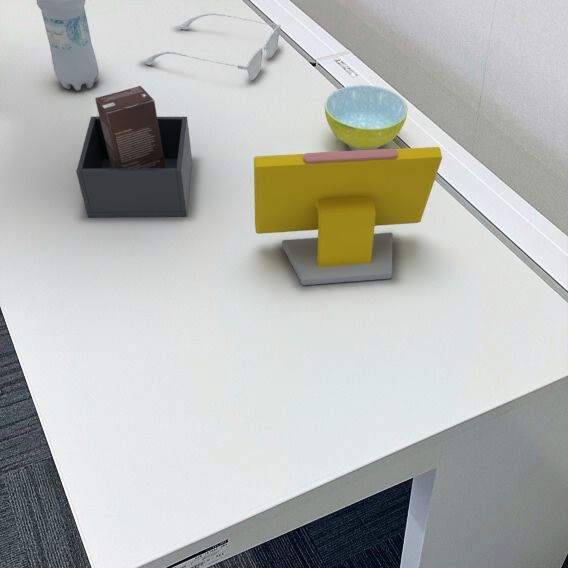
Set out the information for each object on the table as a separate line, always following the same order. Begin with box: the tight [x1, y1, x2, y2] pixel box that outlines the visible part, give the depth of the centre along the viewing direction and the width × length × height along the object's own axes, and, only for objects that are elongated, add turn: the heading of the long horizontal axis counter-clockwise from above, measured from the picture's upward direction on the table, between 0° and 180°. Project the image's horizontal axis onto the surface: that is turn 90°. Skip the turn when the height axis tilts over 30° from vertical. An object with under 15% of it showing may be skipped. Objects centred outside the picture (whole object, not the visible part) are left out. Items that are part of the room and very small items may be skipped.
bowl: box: [324, 84, 409, 151], centre depth 108 cm, size 11×12×6 cm
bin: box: [75, 115, 193, 218], centre depth 98 cm, size 12×12×7 cm
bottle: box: [36, 0, 99, 91], centre depth 110 cm, size 7×7×20 cm
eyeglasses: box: [144, 13, 282, 81], centre depth 124 cm, size 15×18×4 cm
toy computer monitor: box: [253, 146, 443, 286], centre depth 87 cm, size 20×8×16 cm, turn 100°
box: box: [94, 85, 165, 169], centre depth 95 cm, size 6×4×12 cm
